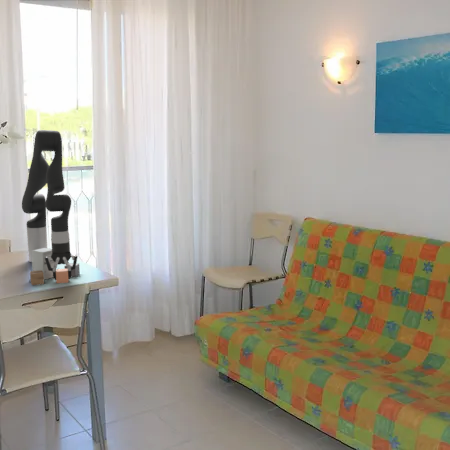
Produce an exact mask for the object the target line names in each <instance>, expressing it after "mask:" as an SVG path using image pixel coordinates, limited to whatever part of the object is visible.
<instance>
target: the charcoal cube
mask: <svg viewBox="0 0 450 450" xmlns="http://www.w3.org/2000/svg"><path fill="white" fill-rule="evenodd" d="M69 264H70V267H72V266H73V262H71V263H70V262H69ZM64 269H68V268H67V267H66V264H64ZM78 276H80V263H77V262H76V267H75V269H73V270H71V278H72V277H73V278H76V277H78Z"/></svg>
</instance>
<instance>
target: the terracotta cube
mask: <svg viewBox="0 0 450 450" xmlns="http://www.w3.org/2000/svg"><path fill="white" fill-rule="evenodd" d="M69 280H70V279H68V269H65V268H58V269H57V268H56V280H55V282H56V284H65V283H67V284H68V283H69V282H70V281H69Z"/></svg>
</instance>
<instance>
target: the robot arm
mask: <svg viewBox="0 0 450 450" xmlns="http://www.w3.org/2000/svg"><path fill="white" fill-rule="evenodd" d="M42 152H53V153H54V155H53V156H54V157H53V159H52V161H51V163H50V164H49V163H48V161H47V160H46V159H45V157H44V155H43V153H42ZM32 153H33V154H32V158H31V162H30V166H29V170H28V171H29V172H28V177H27V182H26V187H25V191H24V192H23V196H22V200H21V208H22V209H21V210H22V211H23V212H24V214H28V215H30V214H36V215H35V217H33V218H31V219H29V220H27V221H26V235H27V237H26V238H27V253H28V255H27V256H28V262H30V263H32V251H33V250H37V249H42V248H48V236H47V235H48V234H47V211H48V212H49V213H50V212H51V213H52V212H62V213H61V214H60V215H58V216H55V217H54V216H53V217H52V218H51V219H50V227H51V228H50V229H51V234H50V235H51V236H50V243H51V249H52V255H51V256H49V257H45V261H46V264H47V267H48V270H49V271H52V272H53V277H52V278H53V280H54V281H56V269H57V268H58V265H66V267H67V268H68V279H69V280H70V279H71V278H72V277H71V270H73V269H75V267H76V263H77V262H78V254H72V253H71V245H70V233H69V215H70V211H71V207H72V198H71V196H69V194H59V193H62V192H63V191H64V190H65V182H64V181H65V180H64V179H65V178H64V174H63V140H62V135H61V133H60V131H58V130H52V129H51V130H49V129H48V130H47V129H44V130H43V129H40V130H37V131H36V133H35V136H34V142H33V152H32ZM46 185H47V193H46V197H45V195H44V194H42V193H39V192H40V191H41V190H42V189H44V187H45V186H46ZM51 258H52V259H53V261H54V262H55V264H54V267H53V268H52V267H51V265H50V260H51ZM70 259H71V260H72V261H73V262H72V263H73V266H72V267H70V264H69V263H70V262H69V261H70Z"/></svg>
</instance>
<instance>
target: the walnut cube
mask: <svg viewBox="0 0 450 450" xmlns="http://www.w3.org/2000/svg"><path fill="white" fill-rule="evenodd" d="M29 278H30V284H31V286H38V285H39V284H40V285H44V284H45V280H44V275H43V271H42V270H40V271H33V270H31V271H29Z"/></svg>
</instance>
